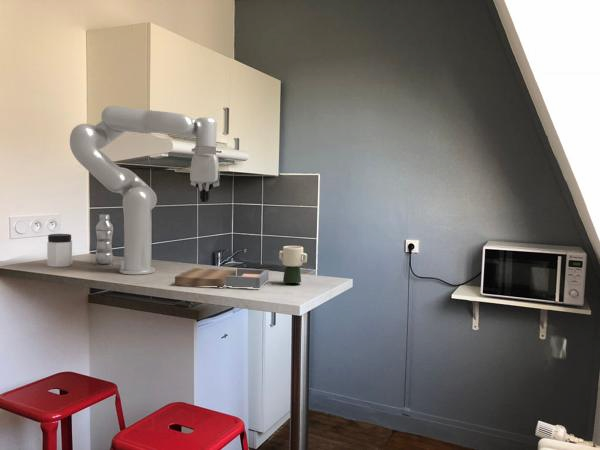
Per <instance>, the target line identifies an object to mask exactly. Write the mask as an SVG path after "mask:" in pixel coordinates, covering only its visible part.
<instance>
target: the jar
mask: <svg viewBox="0 0 600 450" xmlns="http://www.w3.org/2000/svg"><path fill="white" fill-rule="evenodd" d="M47 240H48V241H47V243H46V245H47V248H46V249H47V251H46V253H47V257H46V258H47V259H46V261H47V263H46V264H47V265H46V266H47V267H50V268H51V267H52V268H53V267H54V268H62V267H63V268H64V267H70V266H72V264H73V241H72V234H69V233H51V234H48V235H47Z"/></svg>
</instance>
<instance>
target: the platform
mask: <svg viewBox="0 0 600 450" xmlns="http://www.w3.org/2000/svg"><path fill="white" fill-rule="evenodd" d="M227 275H229V276H237V269H236V270H233V269H217V268H199V267H198V268H197V267H192V268H190V269H188V270H186V271H184V272H182V273H180V274H178V275H176V276H175V277H174V286H175V285H183V286H182V287H187V286H217V287H223V286H224V285H226V276H227Z"/></svg>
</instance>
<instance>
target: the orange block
mask: <svg viewBox="0 0 600 450" xmlns="http://www.w3.org/2000/svg"><path fill="white" fill-rule="evenodd" d="M259 275H260V274H243V275H242V276H247V277H258V276H259Z"/></svg>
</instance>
